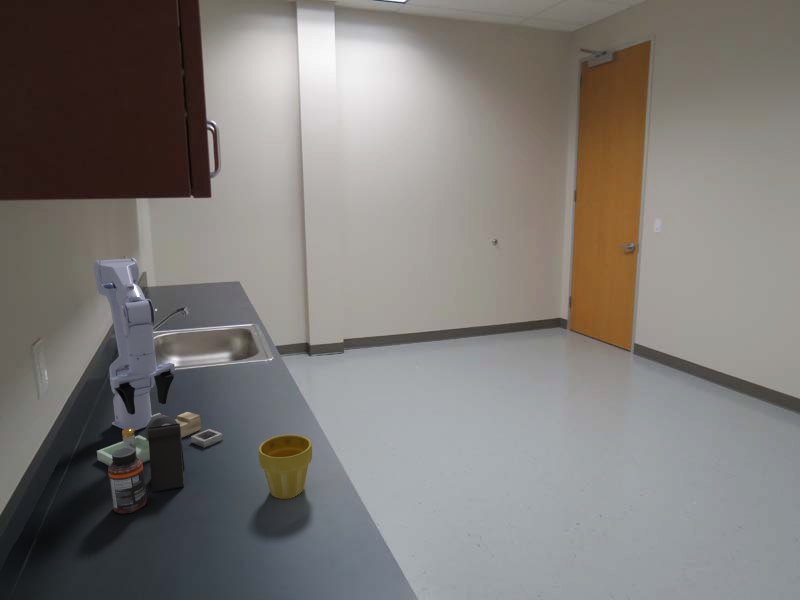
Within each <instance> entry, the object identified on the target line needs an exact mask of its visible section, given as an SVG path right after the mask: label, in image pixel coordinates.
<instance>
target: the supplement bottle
mask: <svg viewBox="0 0 800 600" xmlns="http://www.w3.org/2000/svg"><path fill="white" fill-rule="evenodd" d="M112 460H113V462H112V463H111V464H110V466H108V468H107V473H108V479H109V480H108V482H109V489H110V495H111V496H110V497H111V504H112V508H113V511H114V512H115V513H117V514H130V513H131V514H132V513H134V512H136V511H139V510H140V509H141V508H143V507H145V506H146V505H147V501H148V498H147V495H148V494H147V487H146V480H145V472H144V470H145V469H144V464H143V462H142V460H141V459H140V458H138V457H136V450H135V449H134V448H121V449H118V450H116V451H115V452H113V454H112Z"/></svg>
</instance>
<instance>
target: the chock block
mask: <svg viewBox="0 0 800 600" xmlns="http://www.w3.org/2000/svg"><path fill="white" fill-rule="evenodd" d="M175 420H176V422H177V424H179V423H180V430H181V439H182V438H184V437H186V436H189V435H191V434H193V433H196V432H198V431H201V430H202V424H201V415H200V414H196V413H193V412H191V411H190V412H189V411H185V412H184V413H181V414H179V415H177V418H176V419H175Z"/></svg>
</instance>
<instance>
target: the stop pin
mask: <svg viewBox="0 0 800 600" xmlns="http://www.w3.org/2000/svg"><path fill="white" fill-rule="evenodd" d="M121 435H122V441H123V443H124V448H134V449H135V450H136V443H135V437H136V435H135V431H134V429H133V428H128V429H122V431H121ZM136 454H137V451H136Z"/></svg>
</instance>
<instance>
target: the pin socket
mask: <svg viewBox="0 0 800 600" xmlns="http://www.w3.org/2000/svg"><path fill="white" fill-rule="evenodd" d="M223 437H224V435H223V433H221V432H219V431H216V430H213V429H211V428H208V429H206V430H203V431H201V432H197V433H196V434H192V435H191V436H190V442H191V443H192V444H195V445H197V446H198V447H202V448H207V447H209V446H212V445H215V444H217V443H218V442H221V441H224V438H223Z"/></svg>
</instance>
